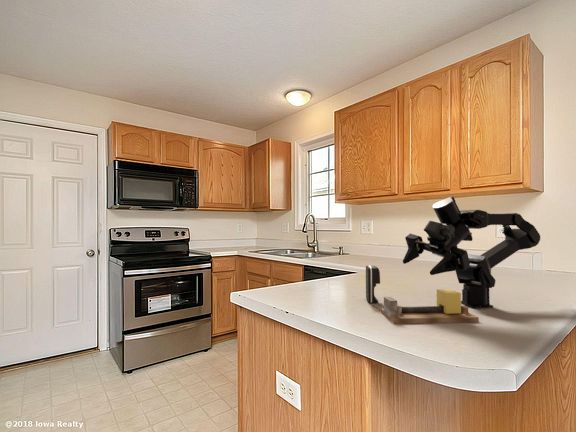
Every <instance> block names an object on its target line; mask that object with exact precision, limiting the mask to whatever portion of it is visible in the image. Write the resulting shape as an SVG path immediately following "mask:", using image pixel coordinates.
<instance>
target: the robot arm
mask: <svg viewBox="0 0 576 432" xmlns="http://www.w3.org/2000/svg"><path fill="white" fill-rule="evenodd" d="M432 209H433V211H434V212H435V214H436V217H437V218H438V221H439V222H437V221H433V220H429V221H428V222H427V224H426V225H425V226H424V228H423V231H424V232H426V234H427V235H428V236H427V237H426V238H427V242H425V241H423V238H422V236H420V235H417V234H413V233H409V234H408V235H406V236H405V237H404V239H405V242H406V246H407V251H406V253H405V255H404V257H403V260H402V263H403V265H405V264H407V263H411V262H412V261H414V260H415V259H417V258H418V257H420V255H422V253H424V252H425V251H426V252H430V253H432V255H435V256H437V257H441V260H440V261H439V262H438V263H437V264H436V265H434V266H433V267H432V269H431V270H430V271H429V274H430V276H434V275H438V274H443V273H448V272H455V275H456V278H457V280H458V283H459V284H462V285H463V286H462V287H463V288H462V289H461V292H462V293H461V304H463V305H464V306H467V307H470V308H473V309H474V308H477V309H478V308H494V305H492V304H490V303H491V302H490V289H491V288H494V287H495V286H496V279H495V277H494V276H493V275H492V269H493V268H495V267H496V266H497V265H499V264H501V263H502V262H503V261H505V260H506V259H508V258H509V257H510V256H512V255H514V254H515V253H517V252H518V251H521V250H527V249H531V248H534V247H537V246H538V245H539V243H540V242H541V235H540V232H539V231H538V230H537V228H536V227H535V225H533V224H532V223H530V221H527V220H526V219H524V218H523V216H522V215H521V213H516V212H509V213H489V212H487V211H486V210H482V209H466V210H460V208H459V206H458V204H457V202H456V199H455V197H454V196H450V197H449V196H448V197H447V198H445V199H442V200H439V201H437V202H435V203H434V204H432ZM488 226H502V227H503V230H502V234H504V240H502V241H501V242H499V243H498V244H496V245H494V246H493V247H492V248H489V249H488V250H487V251H485V252H483V253H482V254H480V255H479V254H478V255H477V254H468V250H466V249H463V248H459V247H458V245H459V244H461V242H463V241H465V242H468V241H469V242H473V236H472V235H473V233H472V232H471V229H473V230H475V229H477V230H481V229H484V228H487V227H488ZM511 226H516V227H517V228H512V227H511Z"/></svg>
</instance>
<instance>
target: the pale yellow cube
mask: <svg viewBox="0 0 576 432" xmlns="http://www.w3.org/2000/svg"><path fill="white" fill-rule="evenodd" d="M461 301H462V293H461V292H458V291H456V290H453V289H451V288H449V289H447V288H445V289H436V306H444V313H446V314H453V313H461V306H462V303H461Z"/></svg>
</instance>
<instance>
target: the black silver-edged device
mask: <svg viewBox="0 0 576 432" xmlns="http://www.w3.org/2000/svg"><path fill="white" fill-rule="evenodd" d="M378 284H381V272H380V269H379V267H377V266H376V265H369V264H368V265H366V266H365V299H366V300H367V303H370V304H375V303H376V304H377V303H378V304H379V300H378V298H377V297H376V296H375V287H377V285H378Z"/></svg>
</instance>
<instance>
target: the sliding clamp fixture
mask: <svg viewBox="0 0 576 432" xmlns="http://www.w3.org/2000/svg"><path fill="white" fill-rule="evenodd" d="M380 314H382V316H384V317H386V319H388V320H389V321H390V322H391V323H393V324H429V323H430V324H431V323H432V324H437V323H442V324H443V323H479V320H480V319H479V316H477V315H475V314H472V313H470V312H469V306H468V305H461V313H453V314H446V313H444V306H437V305H434V306H433V305H432V306H431V305H429V306H428V305H425V306H424V305H423V306H422V305H421V306H402V305H400V304H399V303H398V300H397V299H395V298H394V297H392V296H384V297H383V307H381V308H380Z"/></svg>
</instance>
